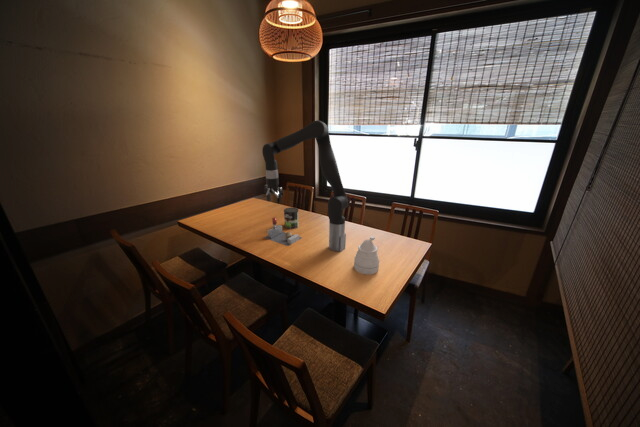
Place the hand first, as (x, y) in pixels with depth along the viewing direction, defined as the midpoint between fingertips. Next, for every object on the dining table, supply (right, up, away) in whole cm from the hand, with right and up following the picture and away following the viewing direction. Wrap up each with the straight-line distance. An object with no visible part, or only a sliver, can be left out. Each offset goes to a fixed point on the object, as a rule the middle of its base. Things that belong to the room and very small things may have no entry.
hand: (273, 202), depth 158 cm
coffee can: (+9, -18, +22) cm, 30 cm away
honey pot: (+54, -36, -26) cm, 70 cm away
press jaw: (0, -21, +7) cm, 23 cm away
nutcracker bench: (+5, -24, +4) cm, 25 cm away
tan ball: (+9, -21, 0) cm, 23 cm away
